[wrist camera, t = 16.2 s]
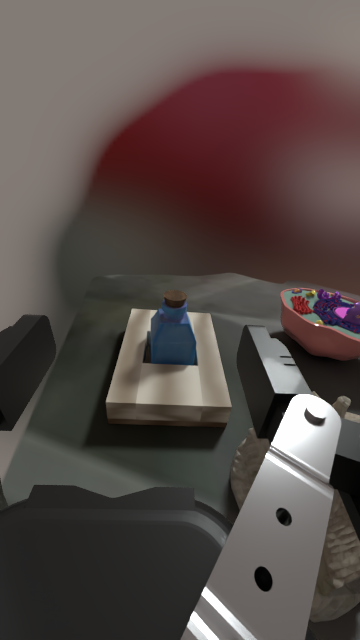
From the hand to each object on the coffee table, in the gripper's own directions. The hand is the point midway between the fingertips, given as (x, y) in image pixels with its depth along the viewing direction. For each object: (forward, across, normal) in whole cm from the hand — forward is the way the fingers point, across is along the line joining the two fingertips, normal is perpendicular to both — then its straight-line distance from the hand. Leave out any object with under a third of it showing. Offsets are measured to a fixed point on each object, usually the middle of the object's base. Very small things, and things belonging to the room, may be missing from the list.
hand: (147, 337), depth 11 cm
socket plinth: (+22, -1, +23) cm, 32 cm away
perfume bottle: (+22, -1, +22) cm, 31 cm away
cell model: (+30, -30, +24) cm, 49 cm away
